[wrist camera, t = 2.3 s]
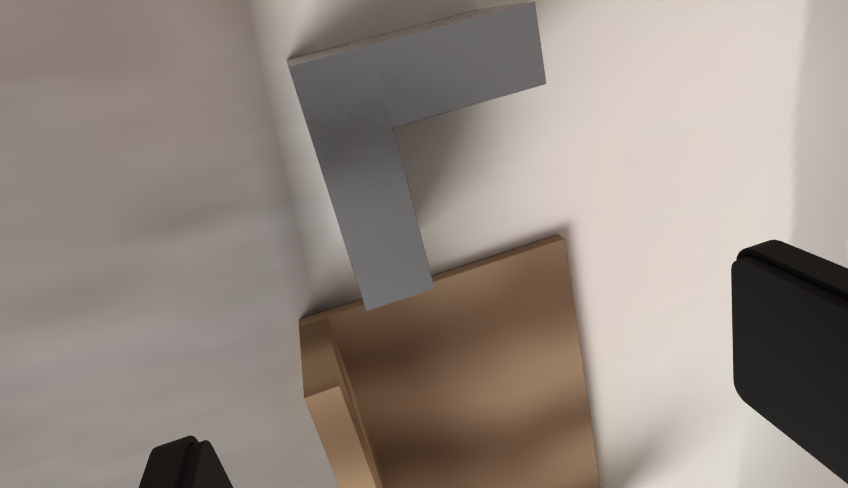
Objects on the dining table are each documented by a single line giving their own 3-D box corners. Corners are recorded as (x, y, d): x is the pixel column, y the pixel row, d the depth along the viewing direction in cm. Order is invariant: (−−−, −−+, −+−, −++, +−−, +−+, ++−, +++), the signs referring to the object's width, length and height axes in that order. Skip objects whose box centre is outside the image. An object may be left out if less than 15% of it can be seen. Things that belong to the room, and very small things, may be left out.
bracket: (286, 59, 20) (288, 66, 15) (478, 9, 21) (534, 1, 16) (349, 257, 23) (366, 311, 18) (513, 204, 24) (568, 244, 19)
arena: (298, 319, 23) (303, 398, 18) (558, 234, 25) (629, 284, 20) (402, 595, 30) (427, 707, 25) (599, 514, 32) (660, 604, 27)
